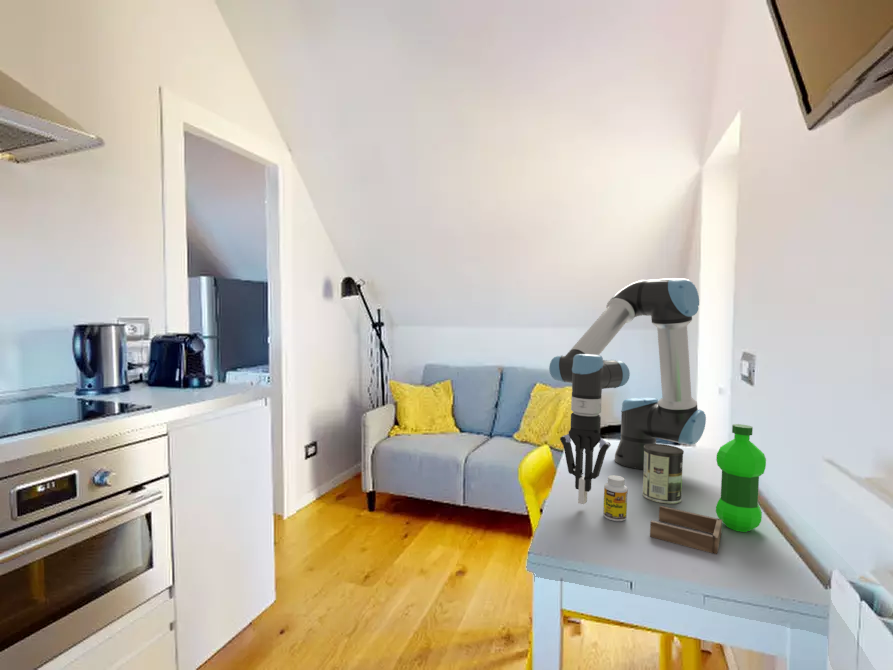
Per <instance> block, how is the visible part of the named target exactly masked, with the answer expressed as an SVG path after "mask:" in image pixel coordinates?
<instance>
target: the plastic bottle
mask: <svg viewBox="0 0 893 670" xmlns="http://www.w3.org/2000/svg"><path fill="white" fill-rule="evenodd" d="M731 429H732V431H731V433H732V434H734V437H733V439H731V440H729V441H727V442H726V443H724V444H723V445H722V446H720V448H719V449H718V451H717V452H716V459H715V460H716V464H717V466H718V467H719V469H720V470H721V484H720V497H719V499H718V501H717V503H716V506H715V513H716V516H717V518H718V519H722V524H724V525H725V527H727V528H729V529H731V530H733V531H736V532H741V533H742V532H743V533H748V532H747V531H749V532H750V531H752V530H755V529H756V528H757V527H759V526H760V524H761V522H762V519H763V517H762V515H763V512H762V509H761V506H760V505H759V486H760V485H759V483H760V477H761V476H763V474H765V470H766V467H767V458H766V456H765V453H763V451H762V450H761V449H760V448H759V447H758V446H756V445H755V444H754V443H753V442H752V441H751V440H750V437H751V436H753V429H754V428H753V426H751V425H748V424H739V423H734V424H732V427H731Z"/></svg>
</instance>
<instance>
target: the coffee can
mask: <svg viewBox="0 0 893 670" xmlns="http://www.w3.org/2000/svg"><path fill="white" fill-rule="evenodd" d="M684 453H685V452H684V449H682V448H680V447H677V446H674V445H669V444H662V443H656V444H647V445H644V469H643V477H642V478H643V479H642V482H643V483H642V496H643V497H644V498H645V499H648V500H649V501H652V502H655V503H661V504H665V505H666V504H667V505H669V504H671V505H675V504H680V503H682V501H683V500H682V489H683V488H682V486H683V463H684Z"/></svg>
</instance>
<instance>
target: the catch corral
mask: <svg viewBox="0 0 893 670" xmlns="http://www.w3.org/2000/svg"><path fill="white" fill-rule="evenodd" d="M658 511H659V512H658V521H655V520H650V529H649V537H650V538H654V539H658V540H660V541H661V540H662V541H665V542H668V543H672V544H676V545H679V546H684V547H688V548H692V549H695V550H699V551H703V552H706V553H711V554H714V555H718V552H719V547H720V543H721V538H722V531H723V530H722V528H723V522H722V519H719V518H718V517H717V518H716V517H712V516H707V515H705V514H704V515H703V514H701V513H700V514H699V513H694V512H690V511H686V510H682V509H677V508H672V507H668V506H663V505H659V510H658ZM679 526H680V527H679ZM687 528H688V529H687ZM692 529H693V530H692Z"/></svg>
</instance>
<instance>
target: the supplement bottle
mask: <svg viewBox="0 0 893 670" xmlns="http://www.w3.org/2000/svg"><path fill="white" fill-rule="evenodd" d="M625 484H626V483H625V478H624V477H623V476H620V475H614V474H613V475H608V477H607V482H606V483H605V484H604V487H603V488H604V489H603V492H604V493H603V509H602V510H603V511H602V512H603V514H602V515H603V516H604V517H605V519H607V520H610V521H613V522H622V521H626V519H627V513H628V511H627V510H628V489H629V488H628V486H626V485H625Z"/></svg>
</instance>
